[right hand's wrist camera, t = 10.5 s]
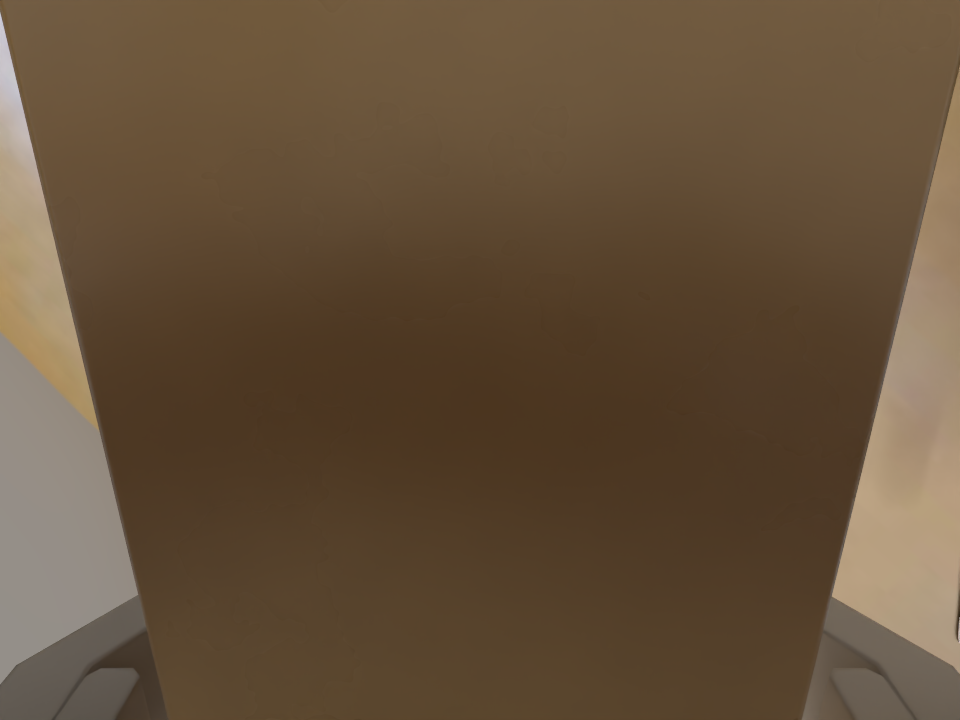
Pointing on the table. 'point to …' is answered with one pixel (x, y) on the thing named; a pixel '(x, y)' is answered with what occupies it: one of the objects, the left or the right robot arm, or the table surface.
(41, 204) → the table surface
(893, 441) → the table surface
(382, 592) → the bar
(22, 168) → the table surface
